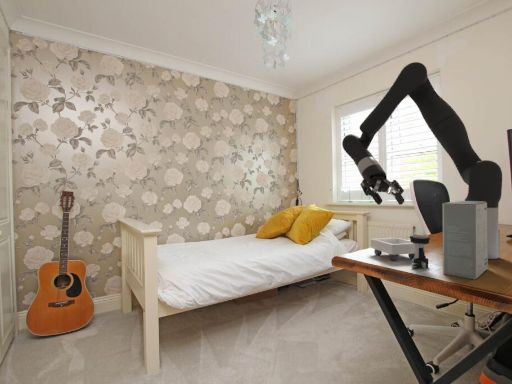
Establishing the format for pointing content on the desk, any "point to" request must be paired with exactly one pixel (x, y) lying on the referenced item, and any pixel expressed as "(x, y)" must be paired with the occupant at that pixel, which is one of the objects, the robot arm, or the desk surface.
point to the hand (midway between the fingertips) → (391, 203)
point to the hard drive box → (465, 238)
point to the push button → (419, 250)
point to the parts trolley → (393, 247)
